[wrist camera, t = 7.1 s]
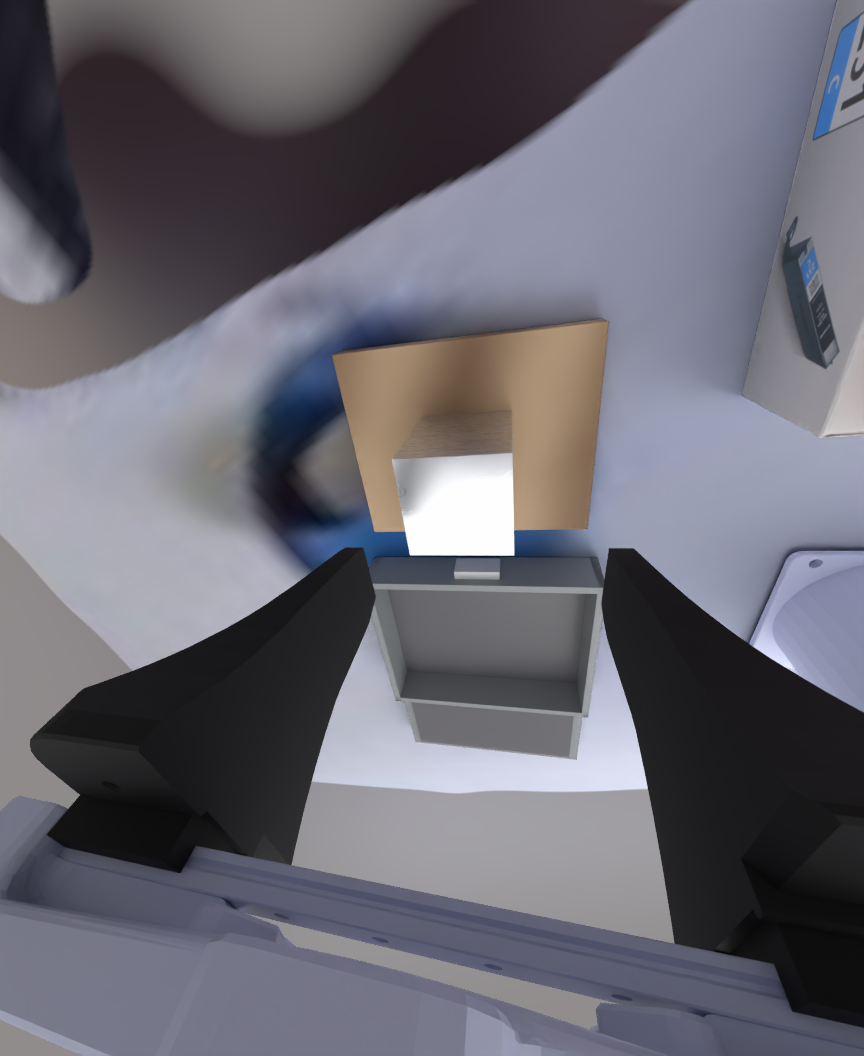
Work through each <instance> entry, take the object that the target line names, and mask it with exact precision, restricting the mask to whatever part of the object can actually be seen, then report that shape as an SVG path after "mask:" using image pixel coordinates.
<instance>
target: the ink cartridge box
mask: <svg viewBox="0 0 864 1056" xmlns="http://www.w3.org/2000/svg"><path fill="white" fill-rule="evenodd" d="M742 395H743V397H745V398H746V399H748V400H750V401H752V402H754V403H756V404H758V405H760V406H762V407H764V408H766V409H767V410H769V411H771V412H773V413H775V414H777V415H779V416H780V417H782V418H784V419H786V420H788V421H790V422H792V423H794V424H796V425H797V426H799V427H801V428H803V429H805V430H807V431H809V432H810V433H812V434H814V435H816V436H817V437H819V438H835V437H847V436H859V435H864V0H837V3H836V7H835V11H834V15H833V18H832V22H831V27H830V31H829V35H828V39H827V44H826V48H825V52H824V56H823V60H822V64H821V68H820V72H819V76H818V81H817V85H816V89H815V93H814V97H813V101H812V105H811V109H810V113H809V118H808V122H807V126H806V130H805V135H804V139H803V142H802V146H801V150H800V155H799V159H798V163H797V166H796V170H795V175H794V179H793V183H792V188H791V192H790V196H789V200H788V204H787V207H786V212H785V216H784V220H783V224H782V228H781V233H780V237H779V241H778V245H777V249H776V253H775V257H774V261H773V265H772V269H771V273H770V277H769V281H768V286H767V290H766V294H765V299H764V303H763V307H762V311H761V315H760V320H759V324H758V328H757V332H756V336H755V341H754V345H753V348H752V352H751V357H750V361H749V365H748V370H747V374H746V378H745V382H744V387H743V392H742Z"/></svg>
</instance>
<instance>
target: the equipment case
mask: <svg viewBox="0 0 864 1056" xmlns="http://www.w3.org/2000/svg"><path fill="white" fill-rule="evenodd" d="M369 572H370V576H371V579H372V583H373V587H374V591H375V595H376V599H375V603H374V607H373V611H372V614H371V616H372V619H373V623H374V626H375V630H376V633H377V637H378V640H379V644H380V647H381V651H382V654H383V658H384V661H385V665H386V668H387V672H388V675H389V679H390V682H391V686H392V689H393V693H394V696H395V699H396V701H404V702H405V704H406V708H407V712H408V715H409V719H410V723H411V727H412V730H413V734H414V738H415V742H421V743H430V744H439V745H449V746H458V747H467V748H476V749H485V750H494V751H503V752H512V753H522V754H531V755H540V756H549V757H558V758H567V759H576V760H577V752H578V745H579V738H580V730H581V723H582V717H588V713H589V707H590V700H591V693H592V686H593V679H594V673H595V666H596V659H597V652H598V645H599V639H600V632H601V625H602V618H603V613H602V607H601V601H602V594H603V587H604V577H603V574H602V570H601V567H600V564H599V561H598V558H597V557H375V559H374V561H373V563H372V565H371V567H370V569H369Z"/></svg>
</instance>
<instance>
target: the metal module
mask: <svg viewBox="0 0 864 1056" xmlns="http://www.w3.org/2000/svg"><path fill="white" fill-rule="evenodd" d="M392 464H393V469H394V474H395V479H396V485H397V490H398V495H399V500H400V505H401V511H402V516H403V521H404V526H405V531H406V537H407V542H408V547H409V552H410V555H514V487H513V426H512V410H501V411H488V412H476V413H463V414H450V415H438V416H425V417H420V419H419V420H418V422H417V423H416V425H415V426H414V428H413V429H412V431H411V432H410V434H409V435H408V437H407V438H406V439H405V441H404V442H403V444H402V445H401V447H400V448H399V450H398V451H397V453H396V454H395V456H394V457H393V459H392Z"/></svg>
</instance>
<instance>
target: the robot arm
mask: <svg viewBox="0 0 864 1056" xmlns="http://www.w3.org/2000/svg"><path fill="white" fill-rule="evenodd" d="M813 560H815V561H814V562H812V563H810V562H811V561H813ZM375 599H376V595H375V591H374V587H373V583H372V579H371V576H370V572H369V568H368V564H367V560H366V556H365V553H364V549H363V548H344V549H342V550H341V551H339V552H338V553H337V554H335V555H334V556H332V557H331V558H330V559H328V560H327V561H326V562H324V563H323V564H322V565H320V566H319V567H318V568H316V569H315V570H314V571H312V572H311V573H310V574H308V575H307V576H306V577H304V578H303V579H302V580H300V581H299V582H298V583H296V584H295V585H294V586H292V587H291V588H289V589H288V590H286V591H285V592H284V593H282V594H281V595H279V596H278V597H276V598H275V599H273V600H272V601H271V602H269V603H268V604H266V605H265V606H263V607H262V608H260V609H258V610H257V611H255V612H254V613H252V614H250V615H249V616H247V617H245V618H244V619H242V620H240V621H238V622H237V623H235V624H233V625H231V626H230V627H228V628H226V629H224V630H222V631H220V632H218V633H216V634H214V635H212V636H210V637H208V638H206V639H204V640H202V641H200V642H198V643H196V644H194V645H193V646H190V647H188V648H186V649H184V650H182V651H179V652H177V653H175V654H173V655H171V656H168V657H166V658H163V659H161V660H159V661H156V662H154V663H152V664H149V665H147V666H144V667H142V668H139V669H137V670H134V671H131V672H129V673H126V674H123V675H120V676H118V677H115V678H112V679H109V680H107V681H104V682H101V683H99V684H96V685H93V686H90V687H87V688H84V689H83V690H81V691H80V692H79V693H78V694H77V695H76V696H75V697H74V698H73V699H72V700H71V701H70V702H69V703H67V704H66V705H65V706H64V707H63V708H62V709H61V710H60V711H59V712H58V713H57V714H56V715H55V716H54V717H53V718H51V719H50V720H49V721H48V722H47V723H46V724H45V725H44V726H43V727H42V728H41V729H40V730H39V731H38V732H37V733H36V734H34V735H33V737H32V738H31V739H30V747H31V752H32V753H33V754H34V756H35V757H36V758H37V759H38V760H39V761H40V762H41V763H42V764H43V765H44V766H45V767H46V768H48V769H49V770H50V771H51V772H53V773H54V774H55V775H56V776H58V777H59V778H60V779H61V780H63V781H64V782H65V783H66V784H67V785H69V786H70V787H71V788H72V789H74V790H75V791H76V792H77V793H79V794H80V796H79V797H78V798H77V799H76V801H75V802H74V803H73V804H72V806H71V807H70V808H69V809H67V808H65V807H63V806H61V805H59V804H55V803H52V802H47V801H41V800H36V799H31V798H26V797H21V796H19V797H15V798H13V799H12V800H11V801H10V802H9V803H8V804H7V805H6V806H5V807H4V808H3V809H2V810H1V811H0V1020H2V1021H4V1022H6V1023H9V1024H11V1025H13V1026H16V1027H18V1028H20V1029H23V1030H25V1031H27V1032H29V1033H32V1034H34V1035H36V1036H38V1037H41V1038H43V1039H46V1040H48V1041H50V1042H52V1043H54V1044H57V1045H59V1046H61V1047H64V1048H66V1049H68V1050H71V1051H73V1052H75V1053H77V1054H80V1055H82V1056H864V551H798V552H795V553H793V554H791V555H790V556H789V557H788V558H787V559H786V562H785V564H784V566H783V568H782V571H781V573H780V575H779V577H778V580H777V582H776V584H775V586H774V589H773V591H772V593H771V595H770V598H769V600H768V602H767V604H766V607H765V609H764V611H763V613H762V616H761V618H760V620H759V622H758V625H757V627H756V629H755V631H754V634H753V636H752V638H751V640H750V643H747V642H746V641H744V640H743V639H741V638H740V637H738V636H737V635H735V634H734V633H733V632H731V631H730V630H729V629H727V628H726V627H724V626H723V625H722V624H721V623H719V622H718V621H717V620H715V619H714V618H713V617H711V616H710V615H709V614H708V613H706V612H705V611H704V610H702V609H701V608H700V607H699V606H698V605H696V604H695V603H694V602H693V601H691V600H690V599H689V598H688V597H687V596H685V595H684V594H683V593H682V592H681V591H680V590H678V589H677V588H676V587H675V586H674V585H673V584H672V583H671V582H669V581H668V580H667V579H666V578H665V577H664V576H663V575H662V574H661V573H659V572H658V571H657V570H656V569H655V568H654V567H653V566H652V565H651V564H650V563H649V562H648V561H647V560H645V559H644V558H643V557H642V556H641V555H640V554H639V553H638V552H637V551H636V550H635V549H632V548H609V553H608V560H607V567H606V573H605V580H604V587H603V594H602V601H601V607H602V613H603V619H604V624H605V630H606V635H607V639H608V642H609V646H610V649H611V652H612V655H613V658H614V661H615V665H616V668H617V671H618V674H619V677H620V680H621V683H622V686H623V689H624V692H625V696H626V699H627V702H628V705H629V708H630V711H631V714H632V718H633V722H634V725H635V729H636V733H637V738H638V742H639V747H640V752H641V756H642V761H643V766H644V770H645V776H646V781H647V786H648V791H649V795H650V801H651V806H652V811H653V816H654V822H655V827H656V832H657V838H658V844H659V850H660V855H661V861H662V866H663V872H664V878H665V885H666V891H667V896H668V903H669V909H670V915H671V922H672V929H673V935H674V942H675V944H673V943H668V942H663V941H658V940H653V939H649V938H644V937H639V936H634V935H629V934H624V933H619V932H614V931H610V930H605V929H600V928H595V927H590V926H585V925H580V924H575V923H570V922H566V921H561V920H556V919H551V918H546V917H541V916H536V915H531V914H527V913H522V912H517V911H512V910H507V909H502V908H497V907H492V906H487V905H483V904H477V903H473V902H467V901H462V900H458V899H453V898H448V897H443V896H439V895H433V894H429V893H424V892H419V891H414V890H409V889H404V888H400V887H395V886H390V885H385V884H380V883H375V882H370V881H365V880H360V879H356V878H351V877H346V876H341V875H336V874H331V873H326V872H321V871H316V870H312V869H307V868H302V867H296V866H292V865H291V864H292V860H293V855H294V850H295V846H296V842H297V837H298V833H299V829H300V824H301V820H302V816H303V812H304V808H305V804H306V800H307V796H308V793H309V789H310V785H311V781H312V777H313V774H314V770H315V766H316V763H317V759H318V756H319V753H320V749H321V746H322V743H323V739H324V736H325V732H326V729H327V726H328V723H329V720H330V717H331V714H332V711H333V708H334V705H335V702H336V699H337V696H338V694H339V691H340V689H341V686H342V684H343V682H344V680H345V677H346V675H347V673H348V670H349V668H350V666H351V664H352V661H353V659H354V657H355V655H356V652H357V650H358V648H359V646H360V643H361V641H362V639H363V636H364V634H365V632H366V629H367V627H368V624H369V621H370V617H371V614H372V611H373V607H374V603H375ZM787 668H795V669H796V671H797V672H798V674H799V675H800V676H801V677H800V676H799V675H797V674H795V673H794V672H792V671H790V670H789V669H787ZM245 913H247V914H245ZM248 914H251V915H255V916H259V917H263V918H268V919H272V920H276V921H280V922H284V923H289V924H292V925H297V926H301V927H305V928H309V929H313V930H317V931H321V932H325V933H329V934H333V935H338V936H342V937H346V938H350V939H354V940H359V941H362V942H366V943H371V944H375V945H379V946H383V947H388V948H391V949H395V950H400V951H404V952H408V953H412V954H416V955H420V956H425V957H428V958H433V959H437V960H441V961H445V962H449V963H454V964H458V965H461V966H466V967H470V968H474V969H478V970H482V971H486V972H491V973H495V974H499V975H503V976H507V977H512V978H515V979H520V980H523V981H528V982H532V983H536V984H540V985H544V986H548V987H552V988H557V989H561V990H565V991H569V992H573V993H577V994H582V995H586V996H590V997H594V998H598V999H602V1000H606V1001H610V1002H614V1003H619V1004H609V1003H600V1004H599V1006H598V1007H597V1009H596V1014H597V1023H598V1025H597V1026H594V1027H592V1028H591V1029H590V1030H589V1029H586V1028H583V1027H580V1026H577V1025H573V1024H570V1023H568V1022H565V1021H561V1020H558V1019H555V1018H552V1017H549V1016H546V1015H543V1014H540V1013H537V1012H534V1011H531V1010H528V1009H525V1008H522V1007H518V1006H516V1005H513V1004H510V1003H506V1002H503V1001H500V1000H497V999H493V998H490V997H487V996H484V995H481V994H477V993H474V992H471V991H468V990H465V989H461V988H458V987H455V986H452V985H448V984H444V983H441V982H437V981H434V980H430V979H427V978H423V977H420V976H416V975H413V974H409V973H405V972H402V971H398V970H394V969H390V968H386V967H382V966H378V965H374V964H371V963H367V962H363V961H359V960H354V959H350V958H346V957H341V956H337V955H332V954H328V953H323V952H319V951H314V950H310V949H304V948H299V947H296V946H294V945H293V944H292V943H291V942H290V941H289V940H287V939H286V938H285V937H284V936H283V935H282V933H281V931H280V929H279V927H278V926H276V925H274V924H271V923H269V922H266V921H263V920H261V919H258V918H256V917H253V916H251V915H248ZM621 1004H623V1005H621Z"/></svg>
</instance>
